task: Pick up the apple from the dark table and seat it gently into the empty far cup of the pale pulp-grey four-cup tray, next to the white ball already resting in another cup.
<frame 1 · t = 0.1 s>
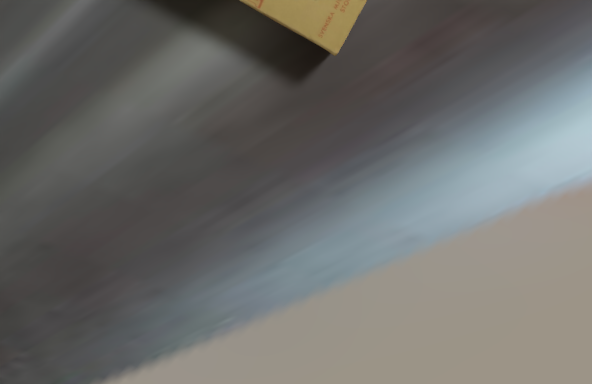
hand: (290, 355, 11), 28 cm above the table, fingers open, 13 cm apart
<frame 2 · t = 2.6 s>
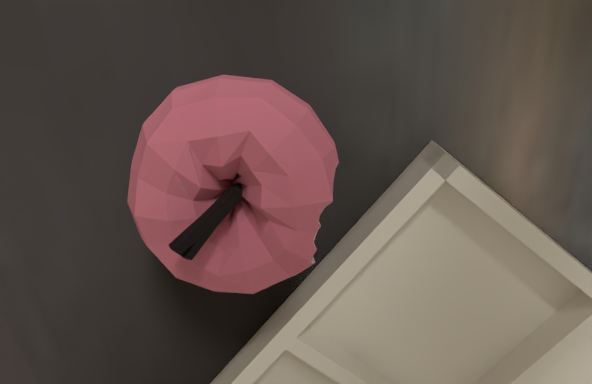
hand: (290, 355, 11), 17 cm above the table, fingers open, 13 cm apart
apple: (246, 147, 27), on the table
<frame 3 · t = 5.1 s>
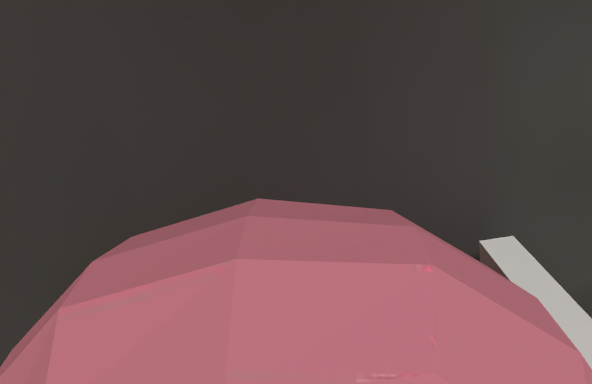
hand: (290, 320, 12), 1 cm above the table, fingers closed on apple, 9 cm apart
apple: (290, 292, 13), on the table, touching gripper
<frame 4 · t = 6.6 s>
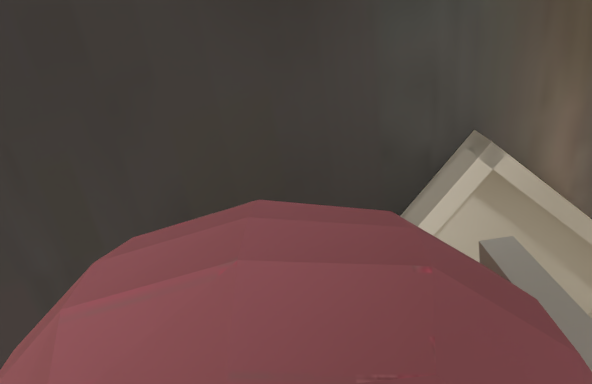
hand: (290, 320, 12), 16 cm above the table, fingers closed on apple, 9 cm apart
apple: (290, 292, 13), point 15 cm above the table, touching gripper
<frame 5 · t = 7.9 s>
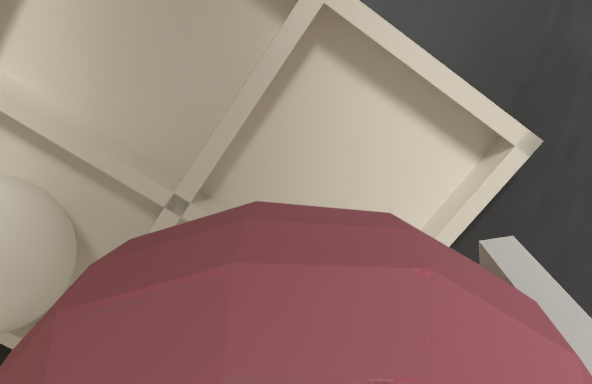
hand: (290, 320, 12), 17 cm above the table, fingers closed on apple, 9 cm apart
white ball: (27, 219, 29), point 1 cm above the table, touching tray
tray: (186, 188, 29), on the table
apple: (289, 293, 13), point 16 cm above the table, touching gripper
when the fingers open (4 cm above the table, at t = 11.1 s): apple drops 2 cm, resting on tray.
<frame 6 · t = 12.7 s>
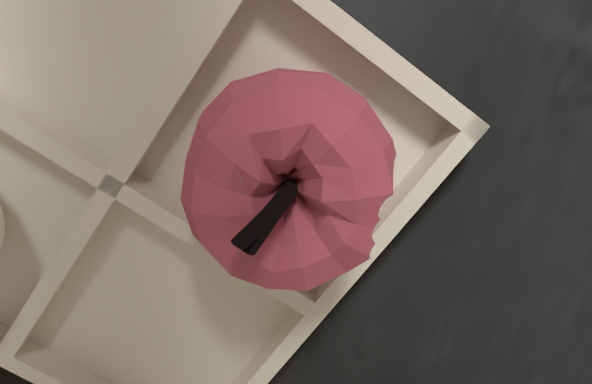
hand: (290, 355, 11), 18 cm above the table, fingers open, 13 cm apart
tray: (125, 171, 28), on the table
apple: (287, 144, 27), resting on tray
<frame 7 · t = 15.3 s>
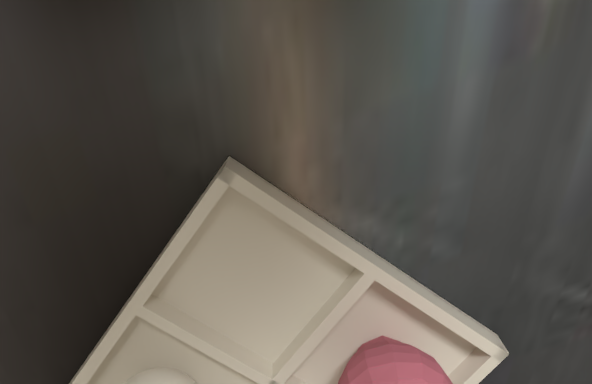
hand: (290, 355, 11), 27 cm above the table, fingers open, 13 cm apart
tray: (274, 365, 44), on the table
apple: (379, 352, 43), resting on tray
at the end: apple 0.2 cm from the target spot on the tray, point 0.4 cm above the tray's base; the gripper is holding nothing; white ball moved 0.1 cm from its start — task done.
